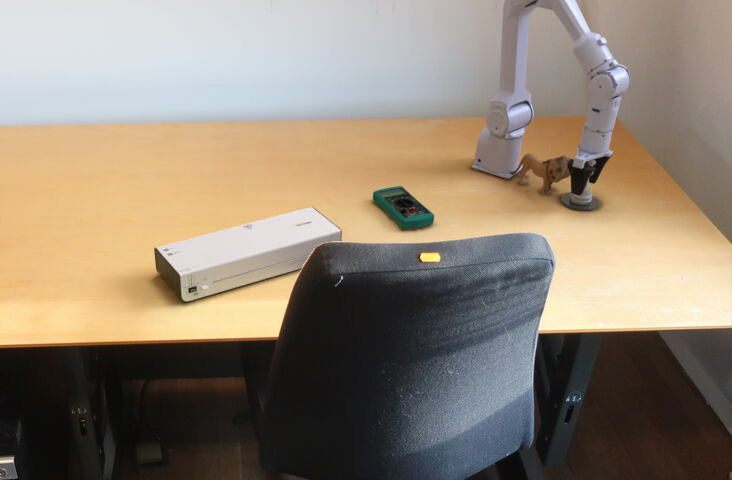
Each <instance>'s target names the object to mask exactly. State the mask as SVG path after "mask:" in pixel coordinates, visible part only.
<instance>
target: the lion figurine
mask: <svg viewBox="0 0 732 480" xmlns="http://www.w3.org/2000/svg"><path fill="white" fill-rule="evenodd" d="M571 159H572V157H571V155H567V154H566V155H560V156H558V157H554V158H549V159H547V160H543V159H541V158H540V157H539V156H538V155H536V154H535V153H531V152H529V153H526V154H524V155H523V157H522V158H521V160H520V162H519V163H518V164H519V166H518V168H517V169H516V170H515V171H514V172H511V173H509V174H513V176H515V175H516V174H517V173H518V172H517V171H518V170H519V169H520V167H521V165H523V167H522V169H521V170H520V171H519V177H520V180H519V184H520V185H521V186H525V185H527V182H526V181H525V178H526V174H527V172H528V171H530V170H531V171H532V173H533V174H534V175H535V176H537V178H540V179H542V180H543V183H542V191H541V193H542V195H544V196H548V195H549V192H553V191H554V187H552V185H553V183H556V184H557V183H559V182H560V181H562V180H564V179H568V178H569V177H570V172H569V169H568V167H567V164H568V161H569V160H571ZM516 172H517V173H516ZM515 173H516V174H515ZM514 174H515V175H514ZM548 191H549V192H548Z"/></svg>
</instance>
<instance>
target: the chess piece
mask: <svg viewBox="0 0 732 480" xmlns="http://www.w3.org/2000/svg"><path fill="white" fill-rule="evenodd" d="M588 164H589V166H592V167H593V165H594V164H596V161H595V160H590V161H588ZM591 175H593V173H592V174H591ZM589 184H590V182H589V180H588V182H587V184H586V187H585V189H584V191H583V193H582V195H581V196H579V195H575V194H572V195H571V197H570V200H571V201H572V202H573V203H576V204H579V205H587V204H589V203H591V200H592V196H593V193H592V192H591V187H590V185H589Z"/></svg>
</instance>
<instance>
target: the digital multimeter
mask: <svg viewBox="0 0 732 480" xmlns="http://www.w3.org/2000/svg"><path fill="white" fill-rule="evenodd" d="M372 201H373V202H374V203H375V204H376V205H378V206H379V207H380V208H381V209H382V210H383V211H384V212H385V213H386V214H387V215H388V216H389V217H390V218H391V219H392V220H393V221H394V222H395V223H396V224H397V225H398V226H399V227H400V228H401V229H402V230H403V231H404V230H411V229H418V228H424V227H426V226H430V225H432V224H434V222H435V221H434V220H435V214H434V213H433V212H432V211H431V210H429V209H428V208H427V207H426V206H425V205H424V204H422V203H421V201H419V200H418V199H416V198H415V196H413V195H412V194H411V193H410V192H409V191H408V190H407V189H406V188H404V186H402V185H397V186H390V187H385V188H381V189H377V190H375V191H373V192H372Z"/></svg>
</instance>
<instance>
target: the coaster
mask: <svg viewBox="0 0 732 480" xmlns="http://www.w3.org/2000/svg"><path fill="white" fill-rule="evenodd" d="M571 195H572V193H571V192H566V193H563V194H562V195H561V197H560V202H561V204H562V205H563V206H565V207H566V208H569V209H571V210H575V211H580V212H589V211H590V212H591V211H595V210H597V209H598V208H599V206H600V201H599V199H598V198H597V197H595V196H593V195H592V200H591V203H589V204H587V205H579V204H576V203H573V202H572V201H571V200H570V197H571Z"/></svg>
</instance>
